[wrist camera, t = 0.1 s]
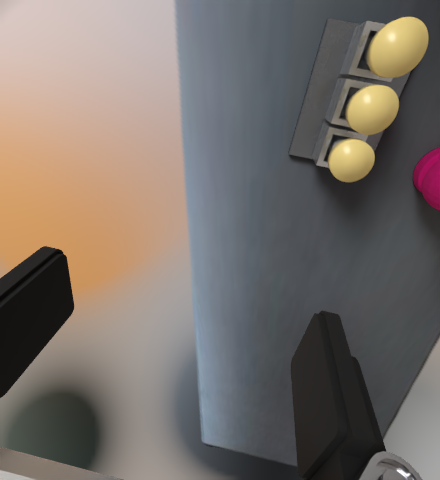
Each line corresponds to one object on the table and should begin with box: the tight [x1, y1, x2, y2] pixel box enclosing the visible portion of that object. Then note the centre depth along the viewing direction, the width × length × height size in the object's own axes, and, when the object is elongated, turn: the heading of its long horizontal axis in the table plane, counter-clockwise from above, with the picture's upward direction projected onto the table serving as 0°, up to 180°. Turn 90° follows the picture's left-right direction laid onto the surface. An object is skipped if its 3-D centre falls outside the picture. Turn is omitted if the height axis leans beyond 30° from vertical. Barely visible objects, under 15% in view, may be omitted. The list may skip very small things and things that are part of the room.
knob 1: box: [364, 17, 429, 78], centre depth 24 cm, size 4×4×6 cm
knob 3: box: [328, 138, 375, 182], centre depth 29 cm, size 4×4×6 cm
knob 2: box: [345, 85, 399, 135], centre depth 27 cm, size 4×4×6 cm
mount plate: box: [288, 18, 411, 168], centre depth 31 cm, size 14×10×5 cm
